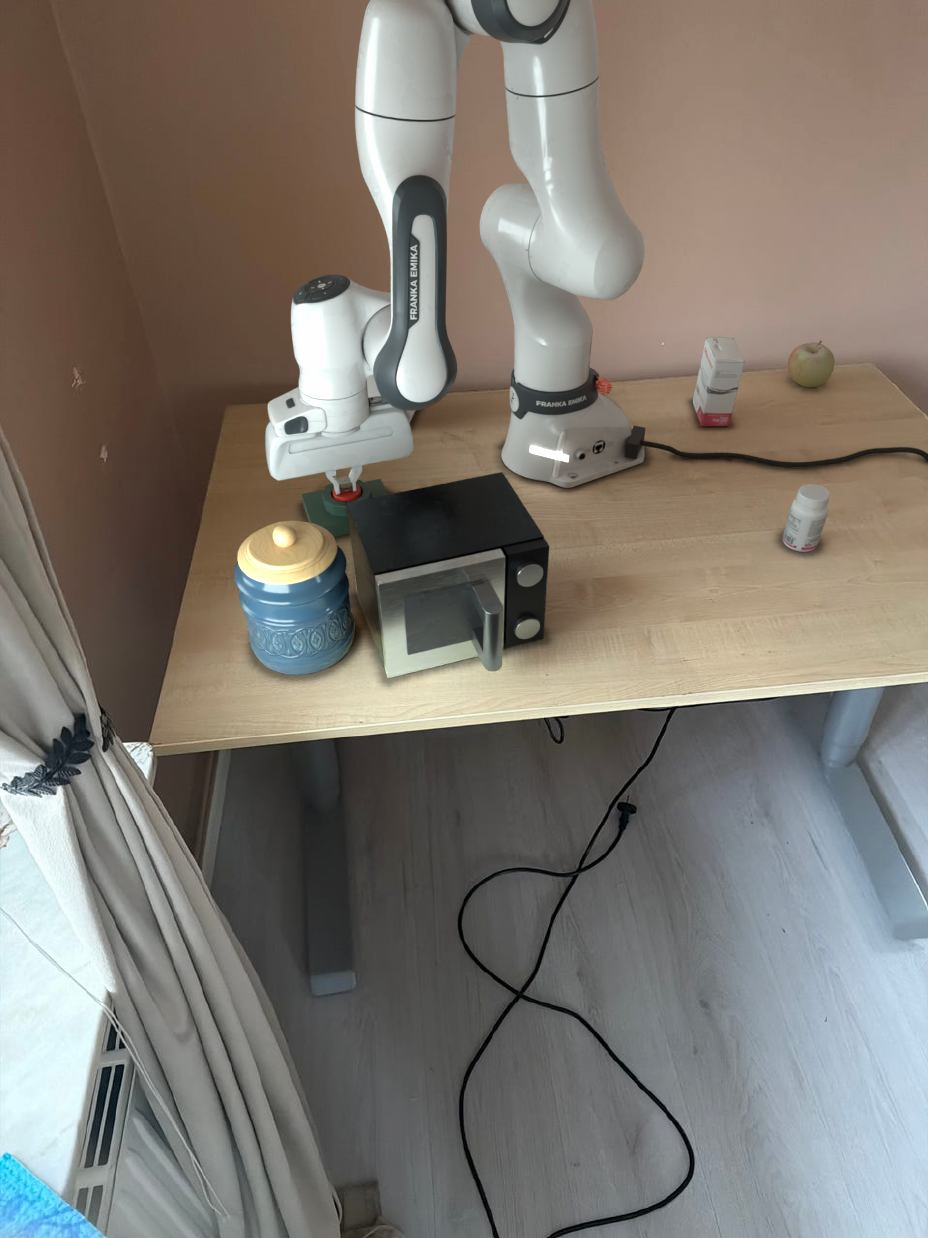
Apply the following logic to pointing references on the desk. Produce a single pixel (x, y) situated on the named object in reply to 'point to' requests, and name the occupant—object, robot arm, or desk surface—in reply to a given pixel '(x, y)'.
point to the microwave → (453, 544)
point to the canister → (295, 597)
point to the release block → (336, 506)
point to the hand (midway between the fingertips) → (345, 490)
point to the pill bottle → (806, 518)
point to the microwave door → (443, 613)
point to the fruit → (811, 364)
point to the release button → (348, 495)
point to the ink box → (718, 381)
